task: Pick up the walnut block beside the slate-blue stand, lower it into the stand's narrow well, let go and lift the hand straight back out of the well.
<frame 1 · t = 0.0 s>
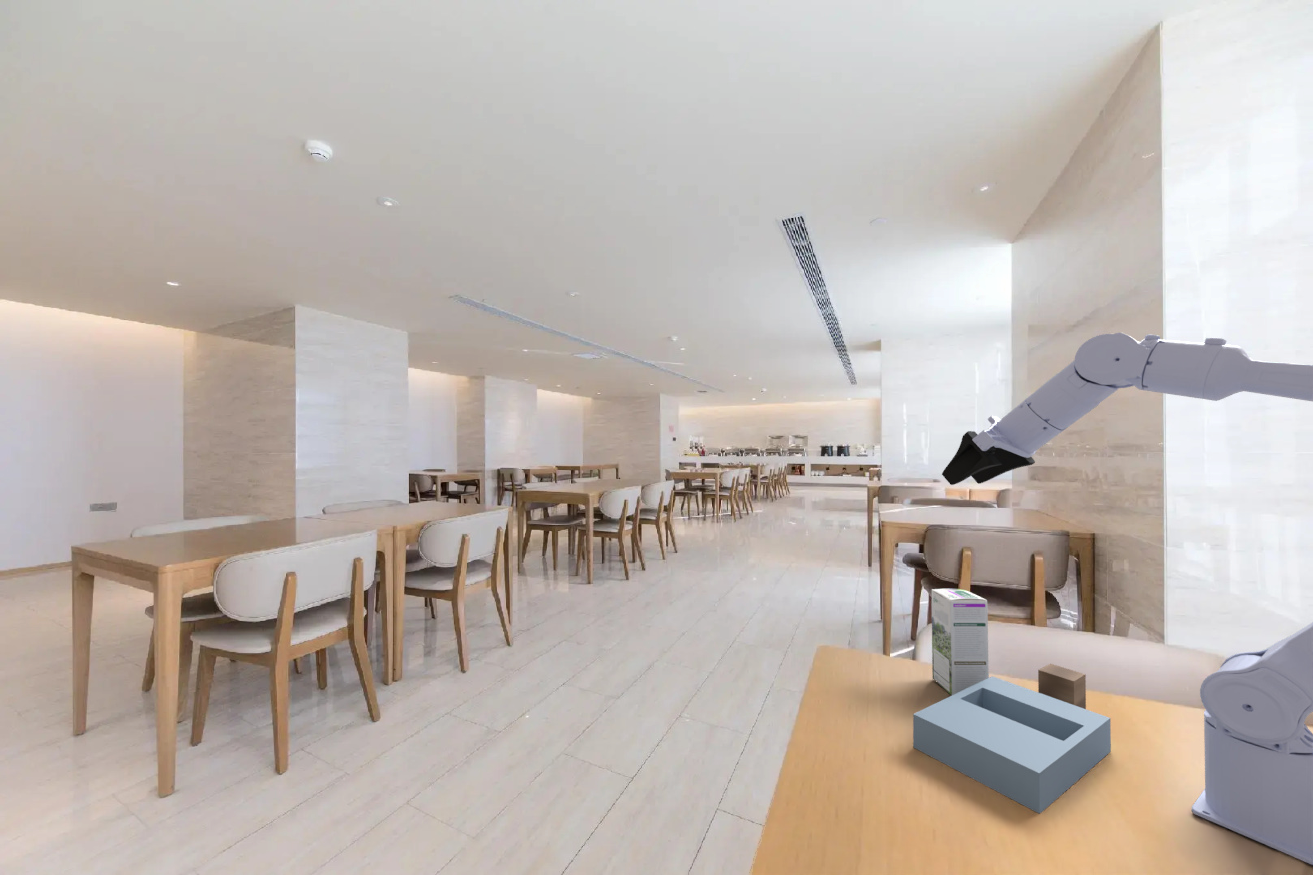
hand: (961, 478, 73), 32 cm above the table, tool tilted 50°, fingers open, 7 cm apart
walnut block: (1062, 715, 68), on the table
well stand: (1011, 749, 60), on the table
syrup box: (959, 689, 76), on the table
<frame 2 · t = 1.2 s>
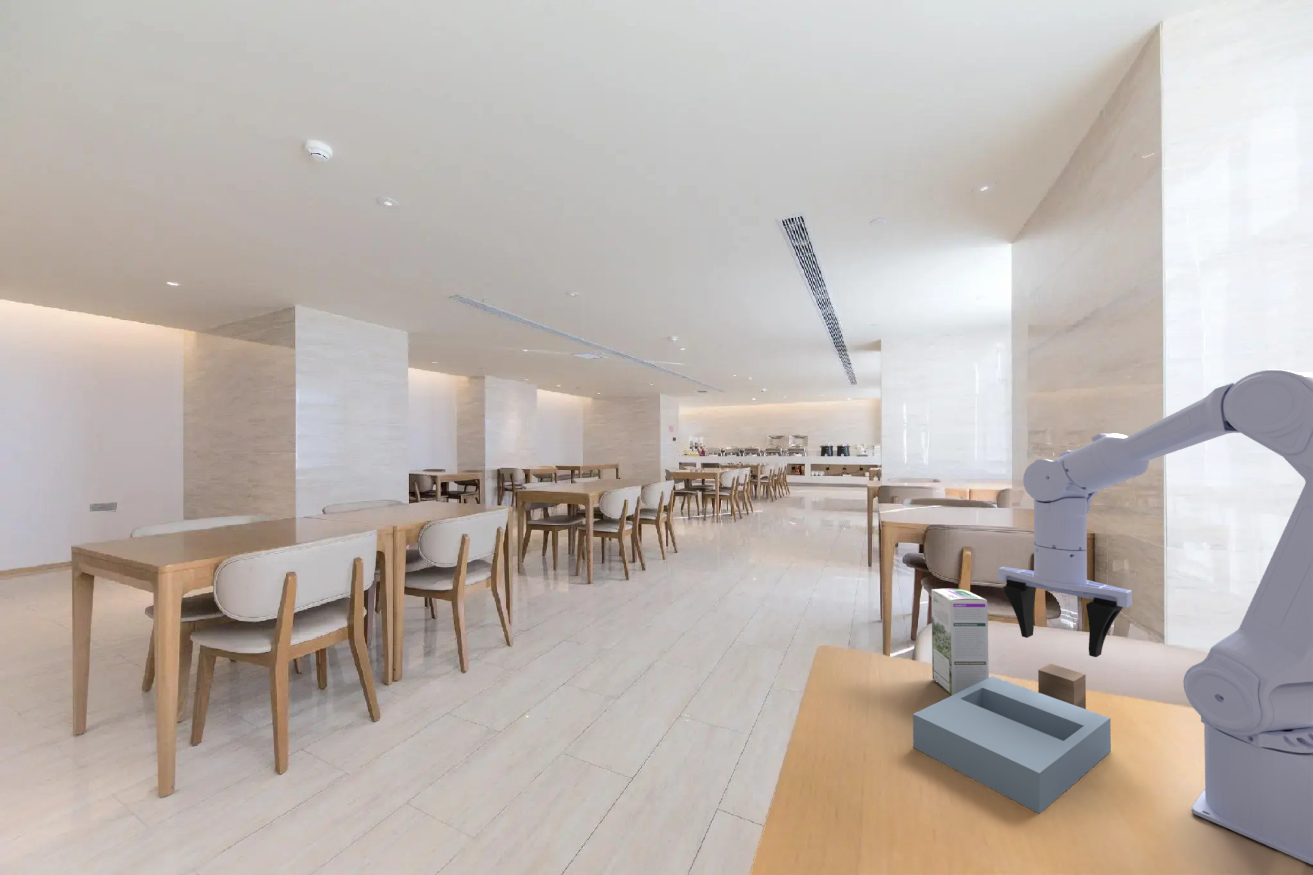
hand: (1059, 644, 69), 10 cm above the table, tool pointing down, fingers open, 7 cm apart
nothing on the table moved.
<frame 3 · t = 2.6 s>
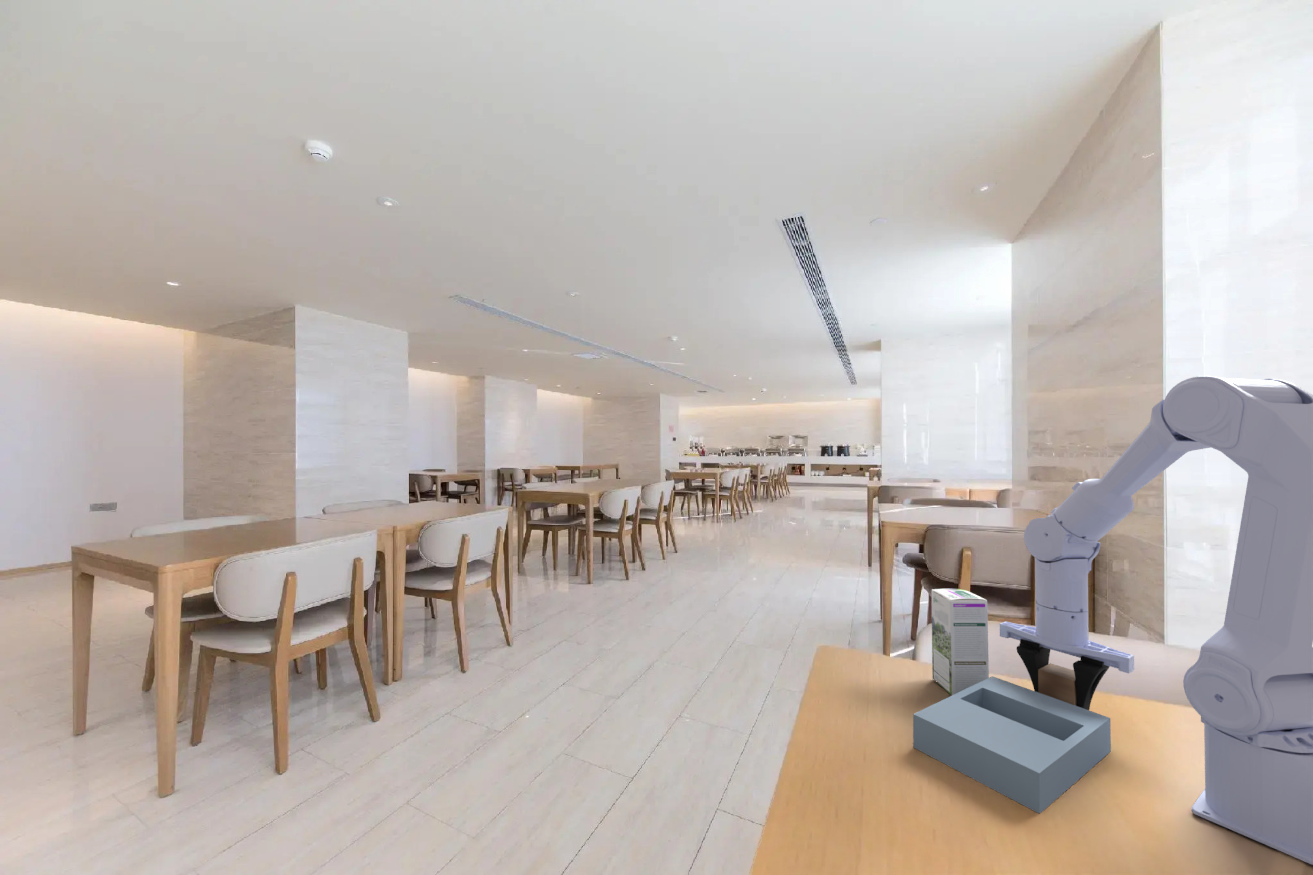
hand: (1061, 705, 68), 1 cm above the table, tool pointing down, fingers closed on walnut block, 4 cm apart
walnut block: (1062, 715, 68), on the table, touching gripper
everything else where it was.
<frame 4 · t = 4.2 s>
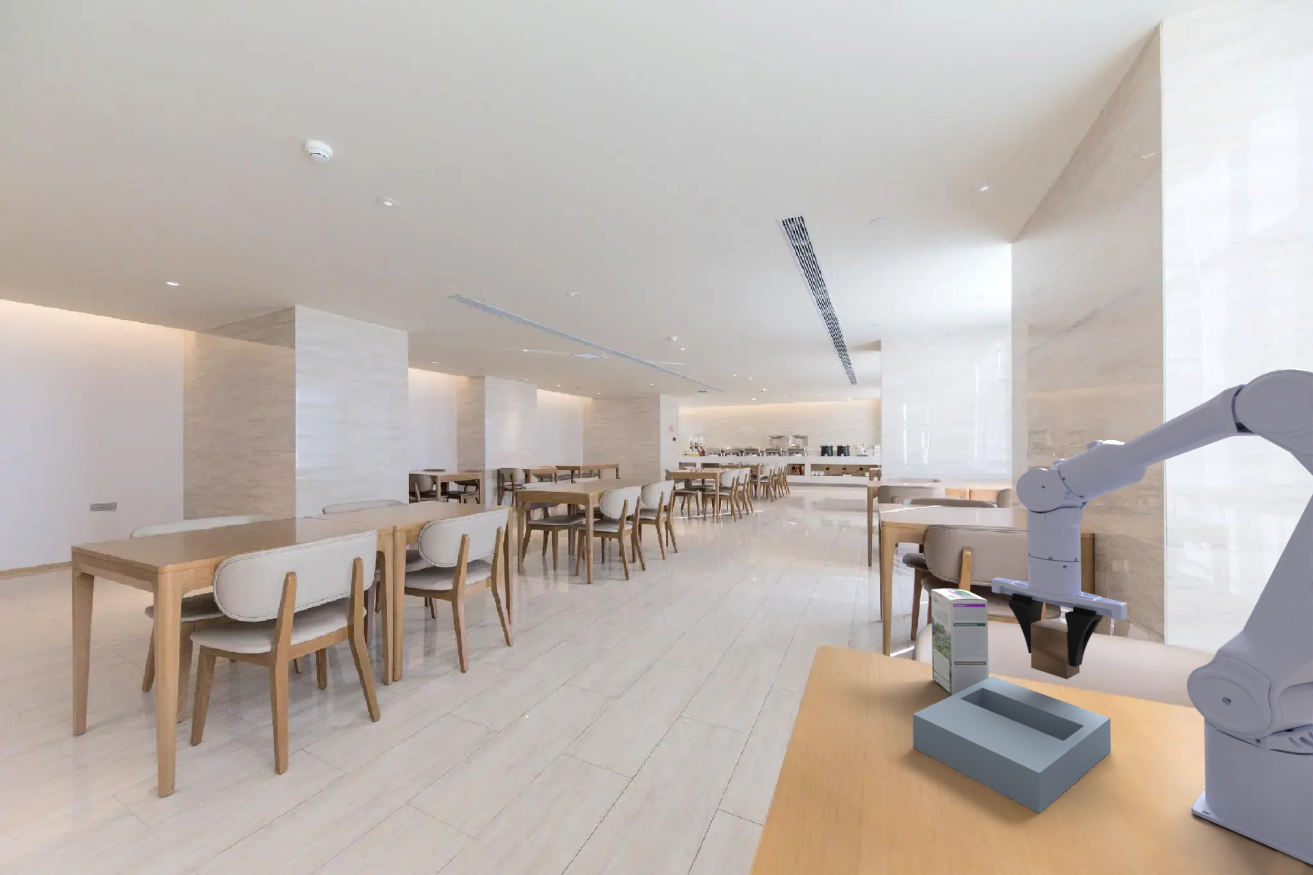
hand: (1054, 658, 67), 8 cm above the table, tool pointing down, fingers closed on walnut block, 4 cm apart
walnut block: (1055, 670, 67), point 7 cm above the table, touching gripper
everything else where it was.
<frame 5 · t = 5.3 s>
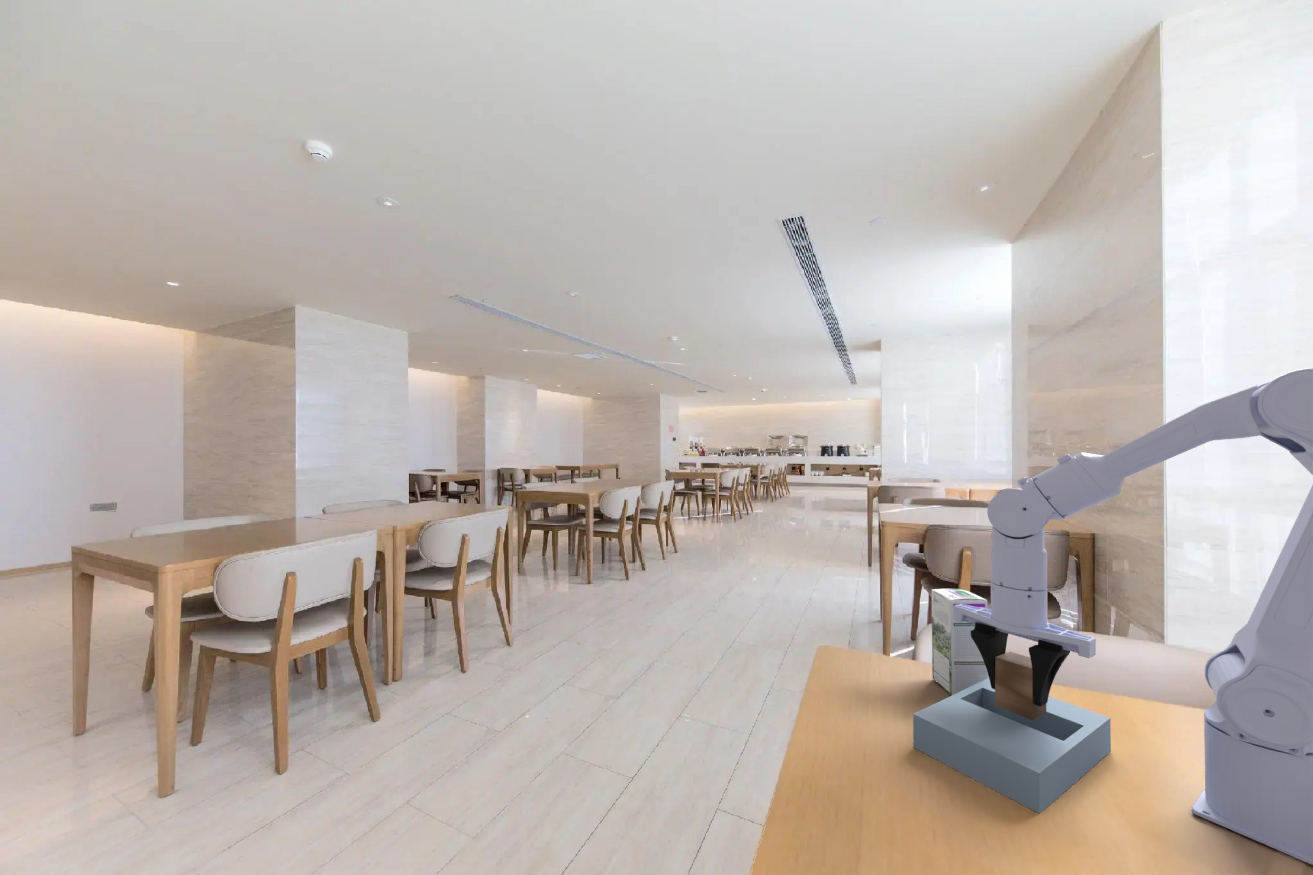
hand: (1018, 695, 62), 6 cm above the table, tool pointing down, fingers closed on walnut block, 4 cm apart
walnut block: (1020, 708, 62), point 4 cm above the table, touching gripper
everything else where it was.
when the fingers open (3 cm above the table, at t = 6.1 s): walnut block drops 2 cm, resting in well stand.
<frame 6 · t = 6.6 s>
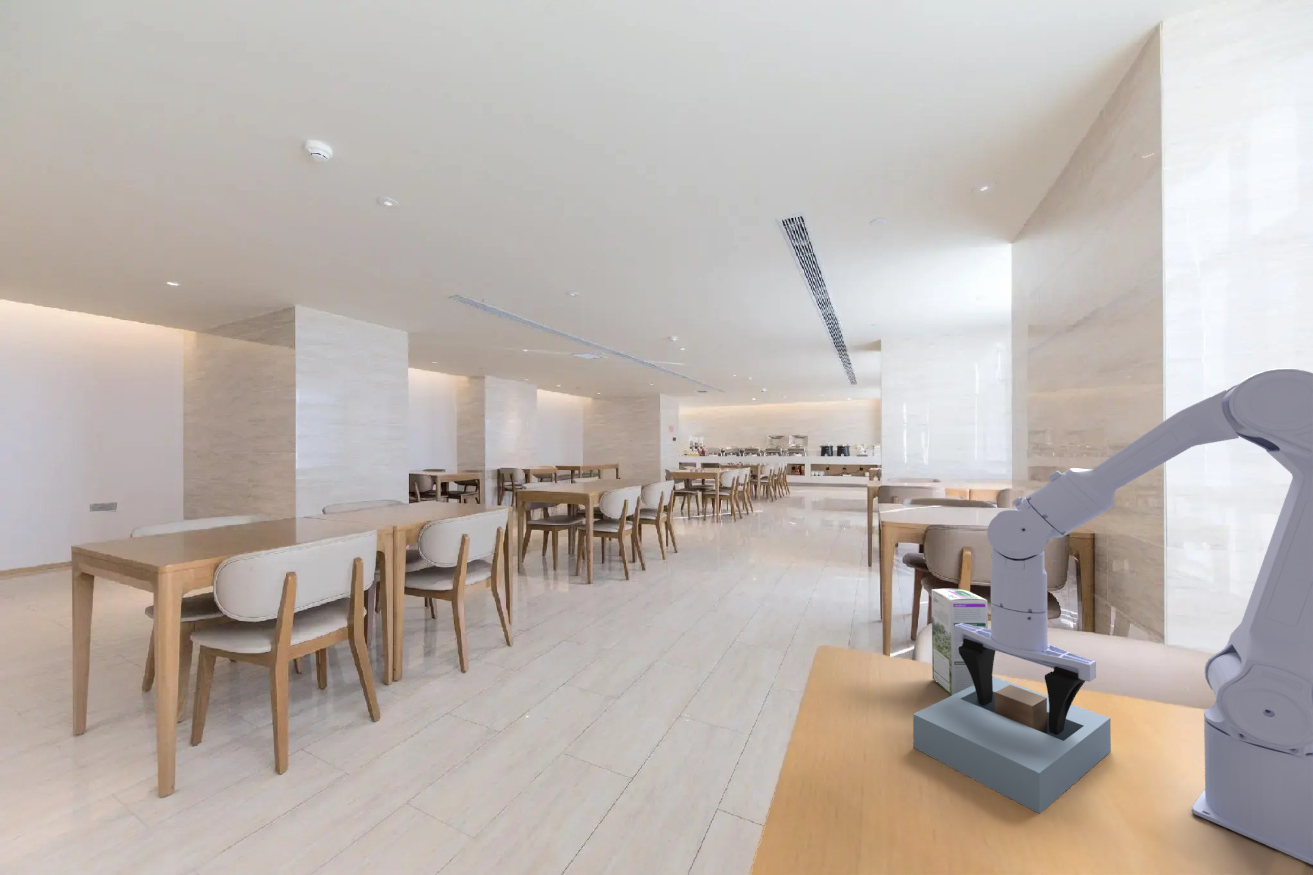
hand: (1019, 716, 62), 3 cm above the table, tool pointing down, fingers open, 7 cm apart
walnut block: (1021, 743, 62), resting in well stand
everything else where it was.
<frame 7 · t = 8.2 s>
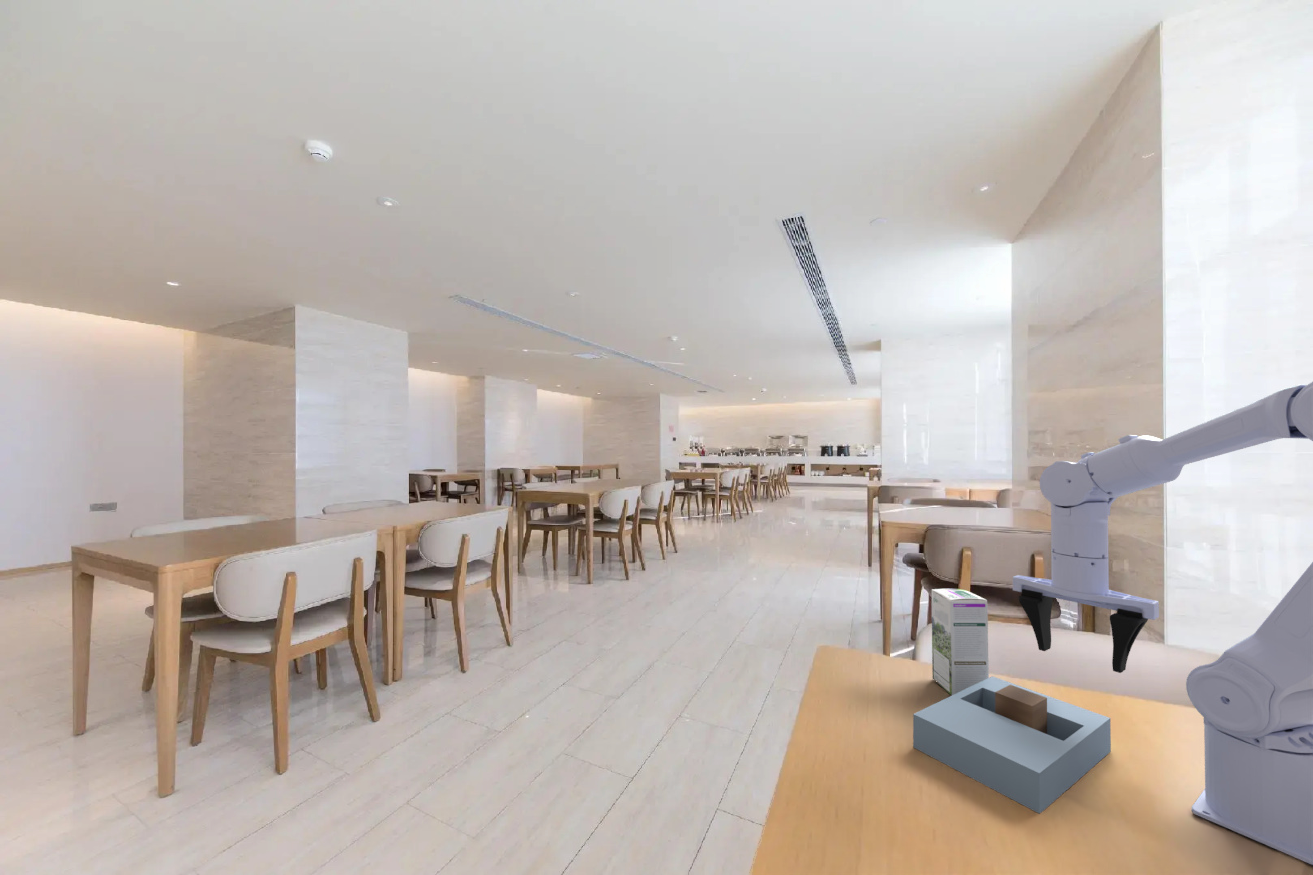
hand: (1080, 659, 65), 9 cm above the table, tool pointing down, fingers open, 7 cm apart
nothing on the table moved.
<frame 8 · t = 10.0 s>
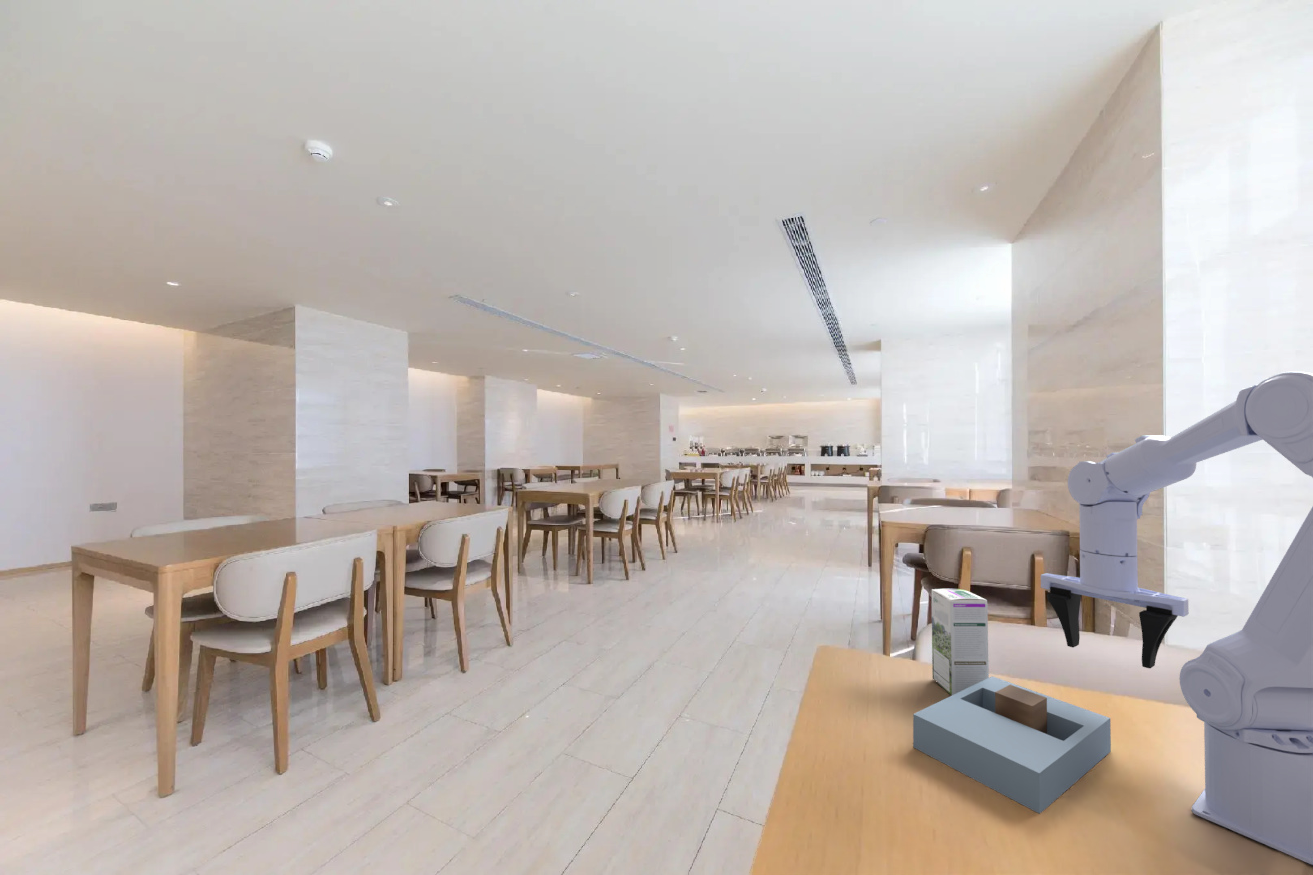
hand: (1108, 655, 66), 9 cm above the table, tool pointing down, fingers open, 7 cm apart
nothing on the table moved.
at the end: walnut block inside the target area on the well stand (0.4 cm from its centre), point 0.0 cm above the well stand's base; walnut block tilted 0°; the gripper is holding nothing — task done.
